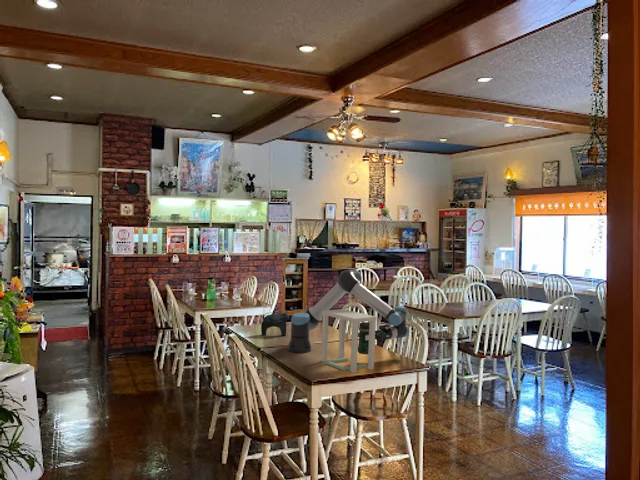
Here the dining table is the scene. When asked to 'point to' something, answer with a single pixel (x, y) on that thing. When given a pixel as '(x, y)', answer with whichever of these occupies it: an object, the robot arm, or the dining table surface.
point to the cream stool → (354, 318)
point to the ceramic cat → (275, 322)
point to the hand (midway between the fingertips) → (360, 336)
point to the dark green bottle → (363, 338)
